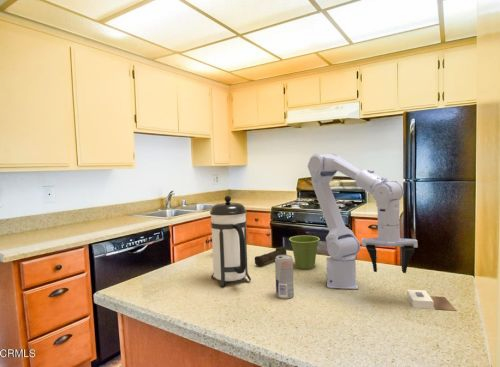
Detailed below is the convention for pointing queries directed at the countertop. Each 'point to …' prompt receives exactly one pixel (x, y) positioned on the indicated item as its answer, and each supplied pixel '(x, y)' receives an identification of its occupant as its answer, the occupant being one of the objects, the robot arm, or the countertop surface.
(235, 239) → the coffee press
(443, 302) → the brown flat slab
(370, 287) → the countertop surface
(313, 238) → the plant pot
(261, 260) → the hand tool
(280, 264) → the energy drink
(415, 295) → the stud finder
